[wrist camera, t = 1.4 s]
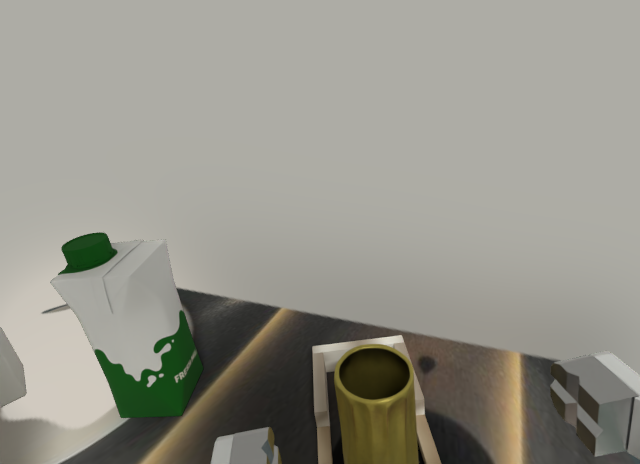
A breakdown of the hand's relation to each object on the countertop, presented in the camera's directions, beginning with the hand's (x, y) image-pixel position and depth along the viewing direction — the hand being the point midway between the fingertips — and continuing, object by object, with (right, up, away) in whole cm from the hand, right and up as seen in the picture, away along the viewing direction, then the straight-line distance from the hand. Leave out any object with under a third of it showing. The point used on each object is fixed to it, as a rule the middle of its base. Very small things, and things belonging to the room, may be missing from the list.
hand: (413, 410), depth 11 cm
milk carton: (-21, -14, +34) cm, 42 cm away
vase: (+3, -17, +20) cm, 27 cm away
